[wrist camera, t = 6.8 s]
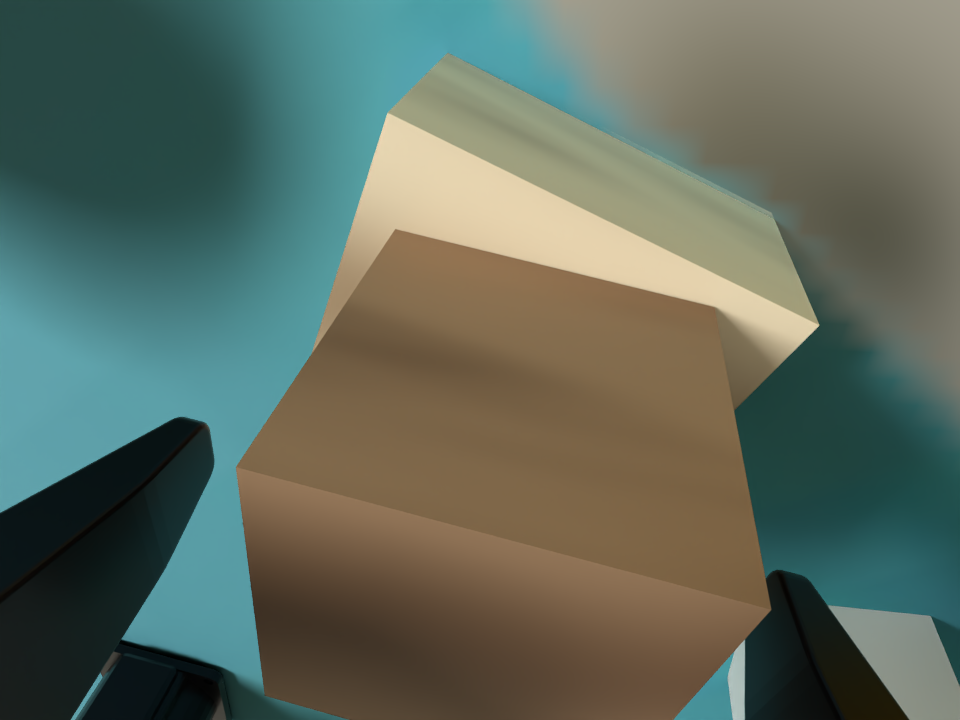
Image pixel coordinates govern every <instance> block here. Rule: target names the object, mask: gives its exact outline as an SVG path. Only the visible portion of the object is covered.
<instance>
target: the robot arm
mask: <svg viewBox="0 0 960 720" xmlns="http://www.w3.org/2000/svg"><path fill="white" fill-rule="evenodd" d="M213 468H214V454H213V447H212V441H211V435H210V429H209V427H208V425H207V424H206V423H204V422H202V421H198V420H194V419H190V418H186V417H178V418H174V419H172V420H170V421H168V422H167V423H165V424H163V425H161V426H159V427H157V428H156V429H154V430H152V431H150V432H148V433H146V434H145V435H143V436H141V437H139V438H137V439H135V440H133V441H132V442H130V443H128V444H126V445H124V446H122V447H121V448H119V449H117V450H115V451H113V452H111V453H110V454H108V455H106V456H104V457H102V458H100V459H98V460H97V461H95V462H93V463H91V464H89V465H87V466H86V467H84V468H82V469H80V470H78V471H76V472H75V473H73V474H71V475H69V476H67V477H65V478H64V479H62V480H60V481H58V482H56V483H54V484H52V485H51V486H49V487H47V488H45V489H43V490H41V491H40V492H38V493H36V494H34V495H32V496H30V497H29V498H27V499H25V500H23V501H21V502H19V503H17V504H16V505H14V506H12V507H10V508H8V509H6V510H5V511H3V512H1V513H0V720H71V718H72V717H73V715H74V713H75V712H76V710H77V709H78V707H79V706H80V704H81V702H82V701H83V699H84V698H85V696H86V694H87V693H88V691H89V690H90V688H91V686H92V685H93V683H94V682H95V680H96V679H97V677H98V675H99V674H100V672H101V674H102V676H103V678H102V680H101V681H100V683H99V684H98V686H97V687H96V689H95V690H94V692H93V693H92V695H91V696H90V698H89V699H88V701H87V703H86V704H85V706H84V707H83V709H82V710H81V712H80V713H79V715H78V716H77V718H76V719H75V720H232V718H231V713H230V708H229V704H228V699H227V695H226V690H225V685H224V681H223V676H222V675H221V674H220V673H219V672H217V671H216V670H213V669H210V668H206V667H202V666H199V665H195V664H191V663H188V662H184V661H180V660H177V659H173V658H169V657H166V656H162V655H159V654H155V653H151V652H148V651H144V650H140V649H137V648H133V647H129V646H126V645H122V644H119V642H120V640H121V639H122V637H123V636H124V634H125V632H126V631H127V629H128V628H129V626H130V625H131V623H132V621H133V620H134V618H135V617H136V615H137V613H138V612H139V610H140V609H141V607H142V605H143V604H144V602H145V601H146V599H147V598H148V596H149V594H150V593H151V591H152V590H153V588H154V586H155V585H156V583H157V582H158V580H159V578H160V576H161V575H162V573H163V571H164V570H165V568H166V566H167V564H168V562H169V560H170V558H171V556H172V555H173V553H174V551H175V548H176V546H177V544H178V542H179V540H180V538H181V536H182V534H183V532H184V530H185V528H186V526H187V524H188V522H189V520H190V518H191V516H192V514H193V512H194V509H195V507H196V505H197V503H198V501H199V499H200V497H201V495H202V493H203V491H204V489H205V487H206V485H207V483H208V481H209V479H210V477H211V474H212V471H213ZM766 584H767V589H768V595H769V600H770V605H771V611H770V612H769V613H768V614H767V615H766V616H765V617H764V619H763V620H762V621H761V622H760V623H759V624H758V625H757V626H756V627H755V629H754V630H753V631H752V632H751V633H750V634H749V635H748V636H747V638H746V639H745V699H744V707H745V720H909V718H908V717H907V715H906V714H905V713H904V711H903V710H902V708H901V707H900V706H899V704H898V703H897V701H896V700H895V699H894V697H893V696H892V694H891V693H890V692H889V690H888V689H887V688H886V686H885V685H884V683H883V682H882V681H881V679H880V678H879V676H878V675H877V674H876V672H875V671H874V669H873V668H872V667H871V665H870V664H869V662H868V661H867V660H866V658H865V657H864V656H863V654H862V653H861V651H860V650H859V649H858V647H857V646H856V644H855V643H854V642H853V640H852V639H851V637H850V636H849V635H848V633H847V632H846V630H845V629H844V628H843V626H842V625H841V624H840V622H839V621H838V619H837V618H836V617H835V615H834V614H833V612H832V611H831V610H830V608H829V607H828V605H827V604H826V603H825V601H824V600H823V599H822V597H821V596H820V594H819V593H818V592H817V590H816V589H815V587H814V586H813V585H812V583H811V582H810V581H809V580H808V579H807V578H805V577H804V576H802V575H799V574H795V573H791V572H787V571H783V570H775V571H772V572H771V573H770V574H769V575H768V577H767V578H766Z"/></svg>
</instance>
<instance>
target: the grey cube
mask: <svg viewBox="0 0 960 720" xmlns="http://www.w3.org/2000/svg"><path fill="white" fill-rule="evenodd" d="M828 607H829V608H830V610H831V611H832V612H833V614H834V615H835V617H836V618H837V619H838V621H839V622H840V624H841V625H842V626H843V628H844V629H845V630H846V632H847V633H848V635H849V636H850V637H851V639H852V640H853V642H854V643H855V644H856V646H857V647H858V649H859V650H860V651H861V653H862V654H863V656H864V657H865V658H866V660H867V661H868V662H869V664H870V665H871V667H872V668H873V669H874V671H875V672H876V674H877V675H878V676H879V678H880V679H881V681H882V682H883V683H884V685H885V686H886V688H887V689H888V690H889V692H890V693H891V694H892V696H893V697H894V699H895V700H896V701H897V703H898V704H899V706H900V707H901V708H902V710H903V711H904V713H905V714H906V715H907V717H908V718H909V720H960V686H959V684H958V681H957V679H956V676H955V674H954V672H953V669H952V667H951V664H950V662H949V659H948V657H947V655H946V652H945V650H944V647H943V645H942V642H941V640H940V637H939V635H938V633H937V630H936V628H935V625H934V623H933V620H932V618H931V616H926V615H916V614H907V613H897V612H887V611H877V610H868V609H858V608H848V607H839V606H829V605H828ZM728 684H729V692H730V700H731V708H732V716H733V720H745V707H744V699H745V640H744V641H743V642H742V643H741V644H740V645H739V646H738V648H737V649H736V650H735V652H734V656H733V659H732V663H731V667H730V670H729V674H728Z"/></svg>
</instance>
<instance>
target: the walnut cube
mask: <svg viewBox="0 0 960 720" xmlns="http://www.w3.org/2000/svg"><path fill="white" fill-rule="evenodd" d="M236 471H237V479H238V487H239V495H240V503H241V511H242V518H243V526H244V534H245V542H246V550H247V558H248V566H249V574H250V582H251V590H252V598H253V606H254V614H255V621H256V629H257V637H258V645H259V653H260V661H261V669H262V677H263V685H264V693H265V696H268V697H271V698H275V699H278V700H282V701H285V702H289V703H292V704H296V705H299V706H303V707H306V708H310V709H314V710H317V711H321V712H324V713H328V714H331V715H335V716H338V717H342V718H345V719H349V720H673V719H674V718H675V717H676V716H677V715H678V714H679V712H680V711H681V710H682V709H683V708H684V707H685V706H686V705H687V703H688V702H689V701H690V700H691V699H692V698H693V697H694V696H695V695H696V693H697V692H698V691H699V690H700V689H701V688H702V687H703V686H704V684H705V683H706V682H707V681H708V680H709V679H710V678H711V677H712V676H713V674H714V673H715V672H716V671H717V670H718V669H719V668H720V667H721V665H722V664H723V663H724V662H725V661H726V660H727V659H728V658H729V657H730V655H731V654H732V653H733V652H734V651H735V650H736V649H737V648H738V646H739V645H740V644H741V643H742V642H743V641H744V640H745V639H746V638H747V636H748V635H749V634H750V633H751V632H752V631H753V630H754V629H755V627H756V626H757V625H758V624H759V623H760V622H761V621H762V620H763V619H764V617H765V616H766V615H767V614H768V613H769V612H770V611H771V605H770V600H769V595H768V589H767V584H766V579H765V573H764V568H763V563H762V557H761V552H760V547H759V541H758V536H757V531H756V525H755V520H754V515H753V509H752V504H751V499H750V493H749V488H748V483H747V478H746V472H745V467H744V462H743V456H742V451H741V446H740V440H739V435H738V430H737V424H736V419H735V414H734V408H733V403H732V398H731V392H730V387H729V382H728V376H727V371H726V366H725V360H724V355H723V350H722V344H721V339H720V334H719V328H718V323H717V318H716V312H715V307H711V306H707V305H703V304H699V303H695V302H691V301H687V300H683V299H679V298H674V297H670V296H666V295H662V294H658V293H654V292H650V291H646V290H642V289H638V288H634V287H630V286H626V285H621V284H617V283H613V282H609V281H605V280H601V279H597V278H593V277H589V276H585V275H581V274H577V273H572V272H568V271H564V270H560V269H556V268H552V267H548V266H544V265H540V264H536V263H532V262H528V261H524V260H519V259H515V258H511V257H507V256H503V255H499V254H495V253H491V252H487V251H483V250H479V249H475V248H470V247H466V246H462V245H458V244H454V243H450V242H446V241H442V240H438V239H434V238H430V237H426V236H422V235H417V234H413V233H409V232H405V231H401V230H397V229H395V230H394V232H393V233H392V235H391V236H390V238H389V239H388V241H387V242H386V244H385V245H384V247H383V248H382V250H381V251H380V253H379V254H378V256H377V257H376V258H375V260H374V261H373V263H372V264H371V266H370V267H369V269H368V270H367V272H366V273H365V275H364V276H363V278H362V279H361V281H360V282H359V284H358V285H357V287H356V288H355V290H354V291H353V293H352V294H351V296H350V297H349V299H348V300H347V302H346V303H345V305H344V306H343V308H342V309H341V311H340V312H339V314H338V315H337V317H336V318H335V320H334V321H333V323H332V324H331V326H330V327H329V329H328V330H327V332H326V333H325V335H324V336H323V338H322V339H321V341H320V342H319V344H318V345H317V347H316V348H315V350H314V351H313V353H312V354H311V356H310V357H309V359H308V360H307V362H306V363H305V365H304V366H303V368H302V369H301V371H300V372H299V374H298V375H297V377H296V378H295V380H294V381H293V383H292V384H291V386H290V387H289V389H288V390H287V392H286V393H285V395H284V396H283V398H282V399H281V401H280V402H279V404H278V405H277V407H276V408H275V410H274V411H273V413H272V414H271V416H270V417H269V419H268V420H267V422H266V423H265V425H264V426H263V428H262V429H261V431H260V432H259V434H258V435H257V437H256V438H255V439H254V441H253V442H252V444H251V445H250V447H249V448H248V450H247V451H246V453H245V454H244V456H243V457H242V459H241V460H240V462H239V463H238V465H237V466H236Z"/></svg>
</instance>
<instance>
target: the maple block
mask: <svg viewBox="0 0 960 720" xmlns="http://www.w3.org/2000/svg"><path fill="white" fill-rule="evenodd" d="M672 163H673V162H672ZM673 164H674V165H675V166H676V167H677V168H678V169H679V170H681V171H682V172H681V171H679V170H677V169H675V168H673V167H671V166H669V165H667V164H665V163H663V162H661V161H659V160H657V159H655V158H653V157H651V156H649V155H647V154H646V153H644V152H642V151H640V150H638V149H636V148H634V147H632V146H630V145H628V144H626V143H624V142H622V141H620V140H618V139H616V138H614V137H612V136H610V135H608V134H606V133H604V132H602V131H600V130H598V129H596V128H595V127H593V126H591V125H589V124H587V123H585V122H583V121H581V120H579V119H577V118H575V117H573V116H571V115H569V114H567V113H565V112H563V111H561V110H559V109H557V108H555V107H553V106H551V105H549V104H547V103H545V102H543V101H542V100H540V99H538V98H536V97H534V96H532V95H530V94H528V93H526V92H524V91H522V90H520V89H518V88H516V87H514V86H512V85H510V84H508V83H506V82H504V81H502V80H500V79H498V78H496V77H494V76H492V75H490V74H489V73H487V72H485V71H483V70H481V69H479V68H477V67H475V66H473V65H471V64H469V63H467V62H465V61H463V60H461V59H459V58H457V57H455V56H453V55H451V54H449V53H447V54H446V55H445V56H444V57H443V58H442V59H441V60H440V61H439V62H438V63H437V64H436V65H435V66H434V67H433V68H432V69H431V70H430V71H429V72H428V73H427V74H426V75H425V76H424V77H423V78H422V79H421V80H420V81H419V82H418V83H417V84H416V85H415V86H414V87H413V88H412V89H411V90H410V91H409V92H408V93H407V94H406V95H405V96H404V97H403V98H402V99H401V100H400V101H399V102H398V103H397V104H396V105H395V106H394V107H393V108H392V109H391V110H390V111H389V112H388V113H387V116H386V120H385V123H384V126H383V129H382V132H381V135H380V139H379V142H378V145H377V148H376V151H375V155H374V158H373V161H372V164H371V167H370V170H369V174H368V177H367V180H366V183H365V186H364V189H363V193H362V196H361V199H360V202H359V205H358V208H357V212H356V215H355V218H354V221H353V224H352V227H351V231H350V234H349V237H348V240H347V243H346V246H345V250H344V253H343V256H342V259H341V262H340V266H339V269H338V272H337V275H336V278H335V281H334V285H333V288H332V291H331V294H330V297H329V300H328V304H327V307H326V310H325V313H324V316H323V319H322V323H321V326H320V329H319V332H318V335H317V338H316V342H315V345H314V348H313V351H314V350H315V348H316V347H317V345H318V344H319V342H320V341H321V339H322V338H323V336H324V335H325V333H326V332H327V330H328V329H329V327H330V326H331V324H332V323H333V321H334V320H335V318H336V317H337V315H338V314H339V312H340V311H341V309H342V308H343V306H344V305H345V303H346V302H347V300H348V299H349V297H350V296H351V294H352V293H353V291H354V290H355V288H356V287H357V285H358V284H359V282H360V281H361V279H362V278H363V276H364V275H365V273H366V272H367V270H368V269H369V267H370V266H371V264H372V263H373V261H374V260H375V258H376V257H377V256H378V254H379V253H380V251H381V250H382V248H383V247H384V245H385V244H386V242H387V241H388V239H389V238H390V236H391V235H392V233H393V232H394V230H395V229H397V230H401V231H405V232H409V233H413V234H417V235H422V236H426V237H430V238H434V239H438V240H442V241H446V242H450V243H454V244H458V245H462V246H466V247H470V248H475V249H479V250H483V251H487V252H491V253H495V254H499V255H503V256H507V257H511V258H515V259H519V260H524V261H528V262H532V263H536V264H540V265H544V266H548V267H552V268H556V269H560V270H564V271H568V272H572V273H577V274H581V275H585V276H589V277H593V278H597V279H601V280H605V281H609V282H613V283H617V284H621V285H626V286H630V287H634V288H638V289H642V290H646V291H650V292H654V293H658V294H662V295H666V296H670V297H674V298H679V299H683V300H687V301H691V302H695V303H699V304H703V305H707V306H711V307H715V312H716V318H717V323H718V328H719V334H720V339H721V344H722V350H723V355H724V360H725V366H726V371H727V376H728V382H729V387H730V392H731V398H732V403H733V408H734V410H735V409H736V408H737V407H738V406H739V405H740V404H741V403H742V402H743V401H744V400H745V399H746V398H747V397H748V396H749V395H750V394H751V393H752V392H753V391H754V390H755V389H756V388H757V387H758V386H759V385H760V384H761V383H762V382H763V381H764V380H765V379H766V378H767V377H768V376H769V375H770V374H771V373H772V372H773V371H774V370H775V369H776V368H777V367H778V366H779V365H780V364H781V363H782V362H783V361H784V360H785V359H786V358H787V357H788V356H789V355H790V354H791V353H792V352H793V351H794V350H795V349H796V348H797V347H798V346H799V345H800V344H801V343H802V342H803V341H804V340H805V339H806V338H807V337H808V336H809V335H810V334H811V333H812V332H813V331H814V330H815V329H816V328H817V327H818V326H819V323H818V321H817V318H816V316H815V314H814V311H813V309H812V307H811V304H810V302H809V300H808V297H807V295H806V292H805V290H804V288H803V285H802V283H801V281H800V278H799V276H798V274H797V271H796V269H795V267H794V264H793V262H792V260H791V257H790V255H789V253H788V250H787V248H786V246H785V243H784V241H783V239H782V236H781V234H780V232H779V229H778V227H777V225H776V222H775V220H774V218H773V215H772V213H771V212H769V211H767V210H765V209H763V208H761V207H759V206H757V205H755V204H753V203H751V202H749V201H747V200H745V199H744V198H742V197H740V196H738V195H736V194H734V193H732V192H730V191H728V190H726V189H724V188H722V187H720V186H718V185H716V184H714V183H712V182H710V181H708V180H706V179H704V178H702V177H700V176H698V175H696V174H695V173H693V172H691V171H689V170H687V169H685V168H683V167H681V166H679V165H677V164H675V163H673ZM683 172H684V173H683ZM685 173H686V174H685ZM687 174H688V175H687ZM691 176H692V177H691ZM693 177H694V178H693ZM695 178H696V179H695ZM697 179H699V180H702V181H705V182H708V183H710V184H712V185H715V186H716V187H718V188H720V189H721V190H723V191H724V192H725V193H726V194H727V195H726V194H724V193H722V192H720V191H718V190H716V189H714V188H712V187H710V186H708V185H706V184H704V183H702V182H700V181H699V180H697ZM313 351H312V353H313Z"/></svg>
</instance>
